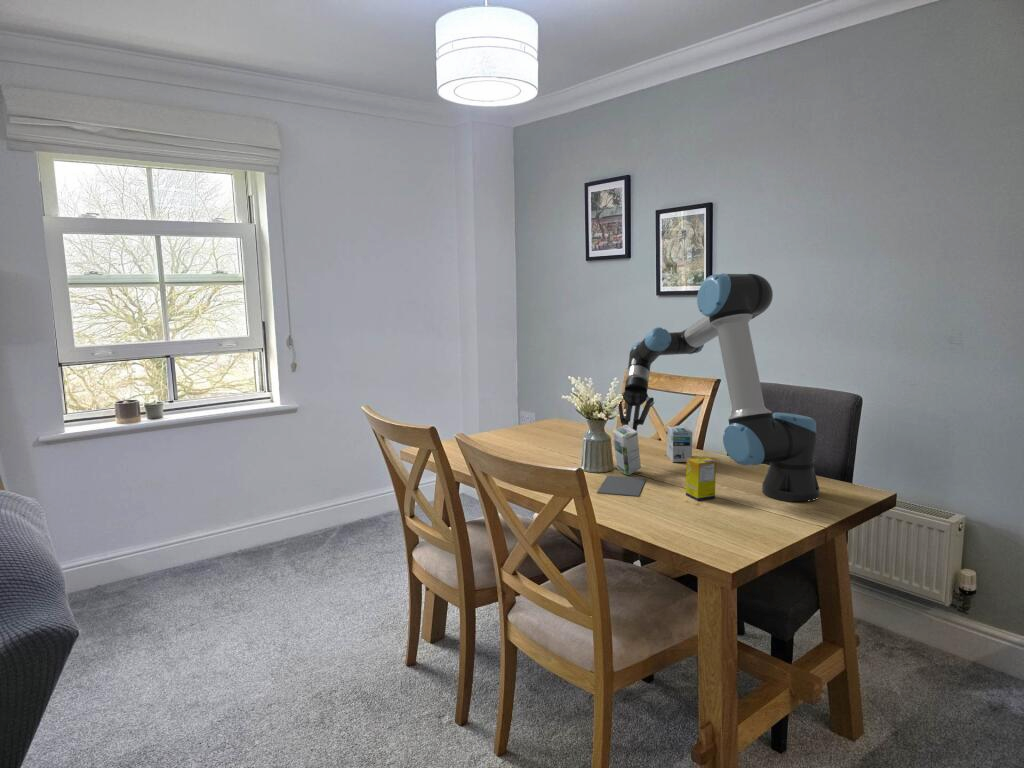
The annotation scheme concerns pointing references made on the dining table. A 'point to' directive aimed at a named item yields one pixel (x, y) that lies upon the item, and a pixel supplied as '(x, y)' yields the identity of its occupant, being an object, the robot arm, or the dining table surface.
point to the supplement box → (700, 478)
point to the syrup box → (626, 449)
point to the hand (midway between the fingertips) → (628, 441)
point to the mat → (622, 486)
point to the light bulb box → (679, 443)
